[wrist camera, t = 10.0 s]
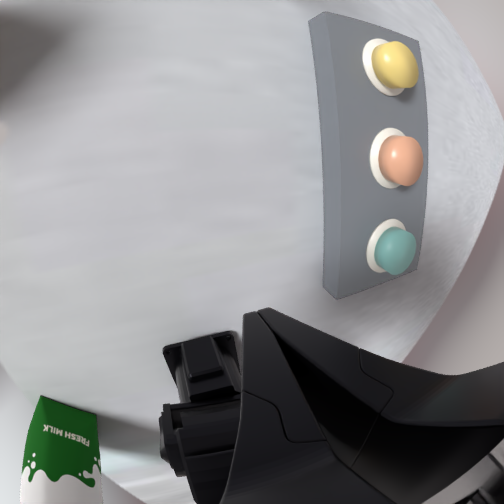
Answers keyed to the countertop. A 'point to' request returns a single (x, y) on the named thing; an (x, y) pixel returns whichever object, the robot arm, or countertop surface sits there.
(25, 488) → the milk carton
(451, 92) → the countertop surface
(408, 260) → the teal button
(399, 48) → the mustard button
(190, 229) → the countertop surface
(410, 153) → the terracotta button
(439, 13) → the countertop surface
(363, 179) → the button console
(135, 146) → the countertop surface
